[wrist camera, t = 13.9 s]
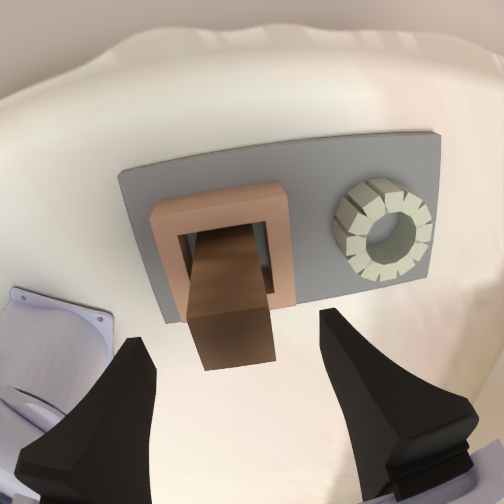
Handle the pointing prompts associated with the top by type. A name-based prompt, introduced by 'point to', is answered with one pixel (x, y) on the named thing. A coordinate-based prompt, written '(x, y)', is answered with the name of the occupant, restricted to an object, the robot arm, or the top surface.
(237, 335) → the square bit
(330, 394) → the top surface
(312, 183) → the socket block
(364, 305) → the top surface
